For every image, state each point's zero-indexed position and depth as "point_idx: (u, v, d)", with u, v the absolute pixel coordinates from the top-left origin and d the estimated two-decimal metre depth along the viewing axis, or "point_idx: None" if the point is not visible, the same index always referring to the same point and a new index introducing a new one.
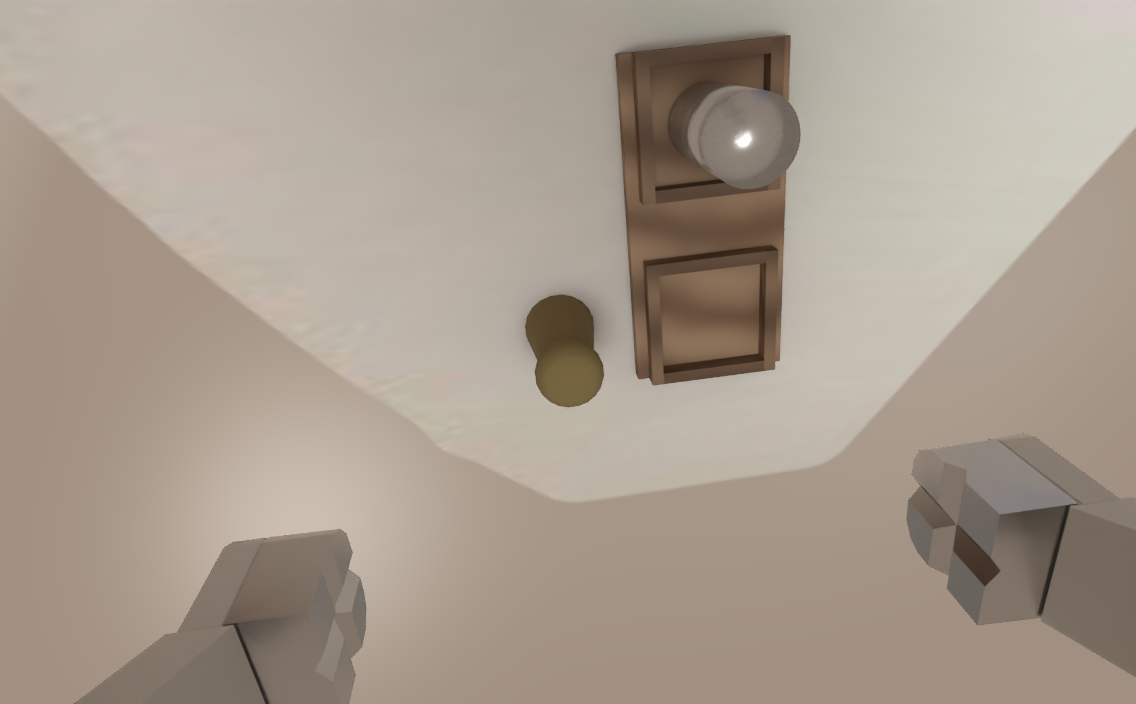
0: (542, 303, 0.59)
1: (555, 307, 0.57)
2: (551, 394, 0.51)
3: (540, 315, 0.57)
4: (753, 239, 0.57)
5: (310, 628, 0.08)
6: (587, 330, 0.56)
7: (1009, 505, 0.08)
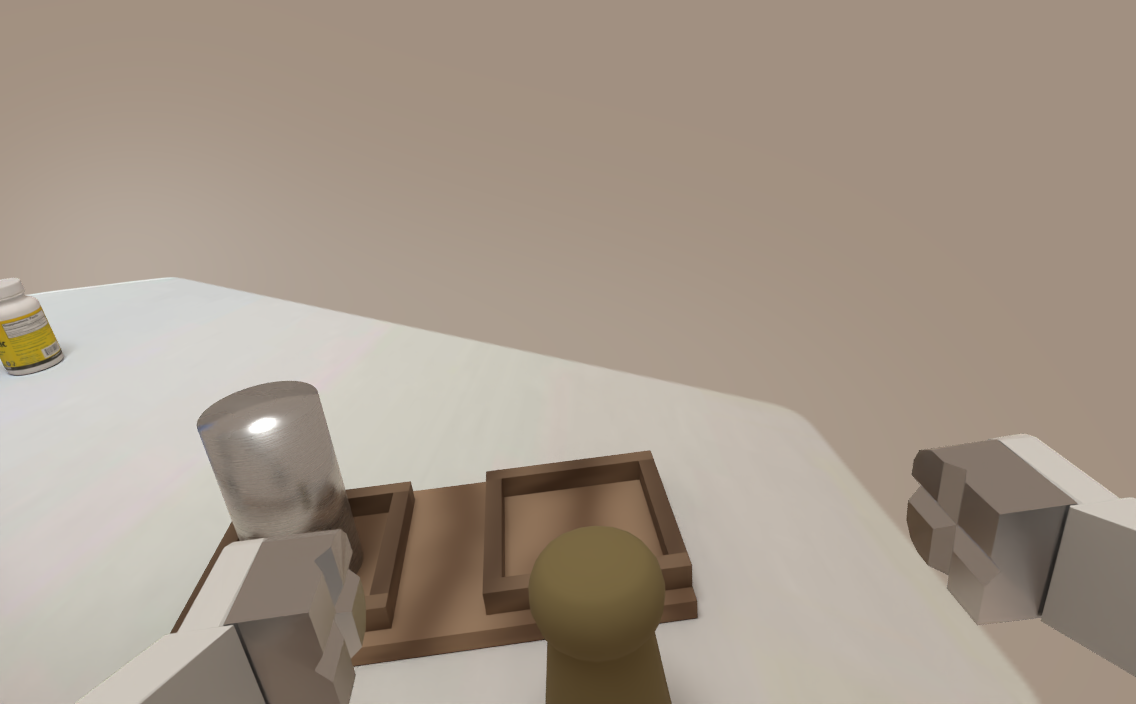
0: None
1: None
2: (621, 586, 0.24)
3: None
4: (478, 506, 0.45)
5: (310, 628, 0.08)
6: None
7: (1009, 505, 0.08)
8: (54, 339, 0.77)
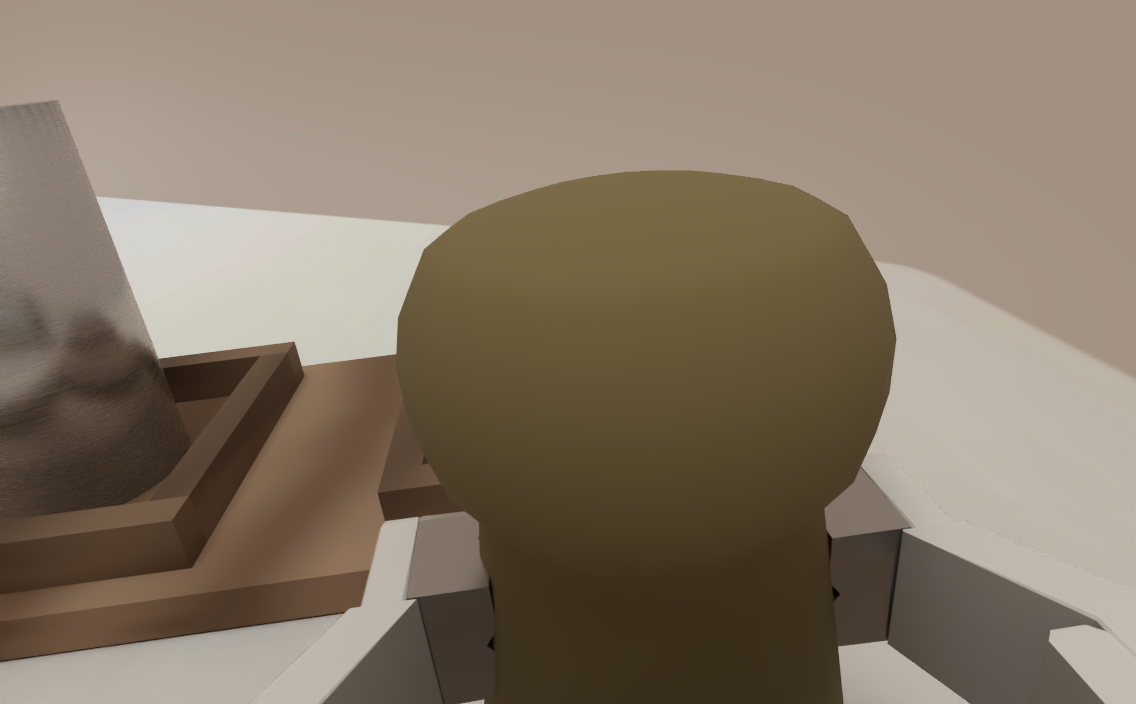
0: None
1: None
2: (757, 239, 0.06)
3: None
4: None
5: (487, 603, 0.08)
6: None
7: (844, 528, 0.08)
8: None
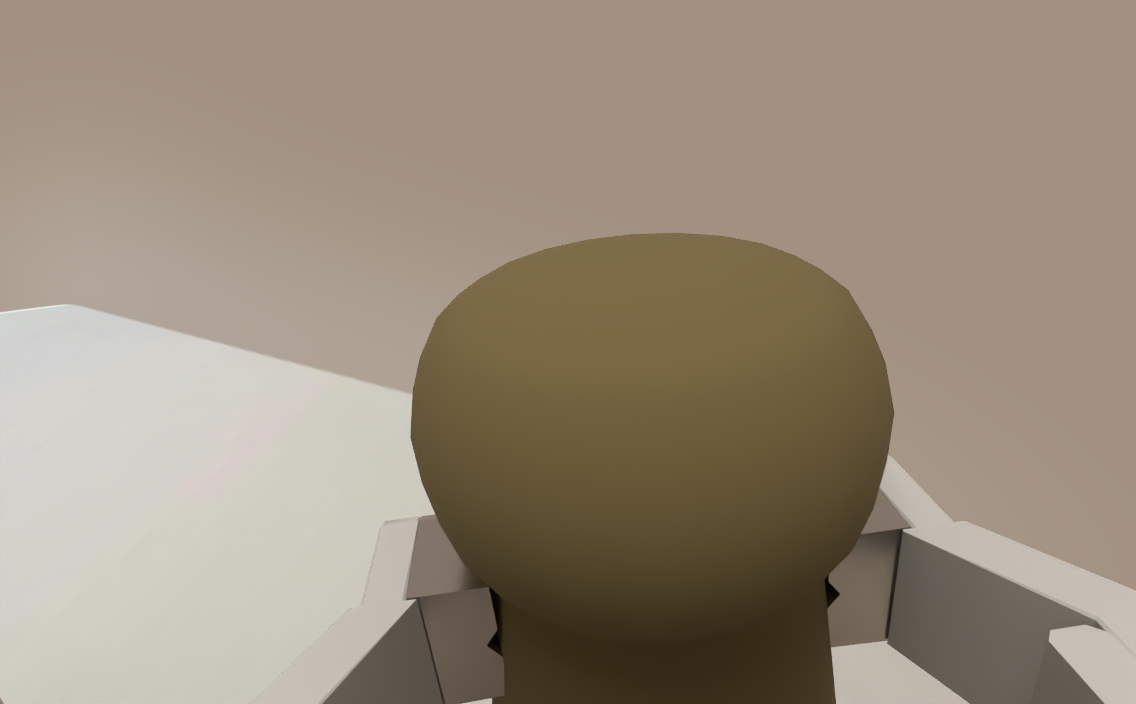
0: None
1: None
2: (762, 331, 0.06)
3: None
4: None
5: (487, 602, 0.08)
6: None
7: None
8: None
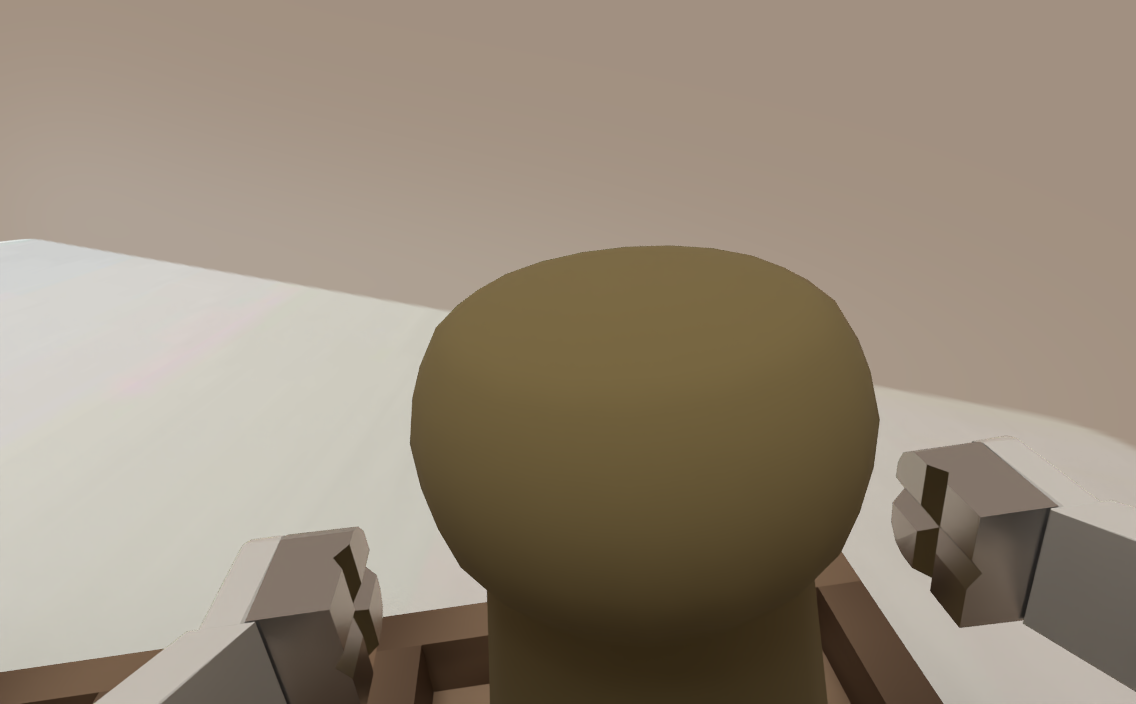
0: None
1: None
2: (749, 339, 0.06)
3: None
4: None
5: (331, 625, 0.08)
6: None
7: (990, 508, 0.08)
8: None
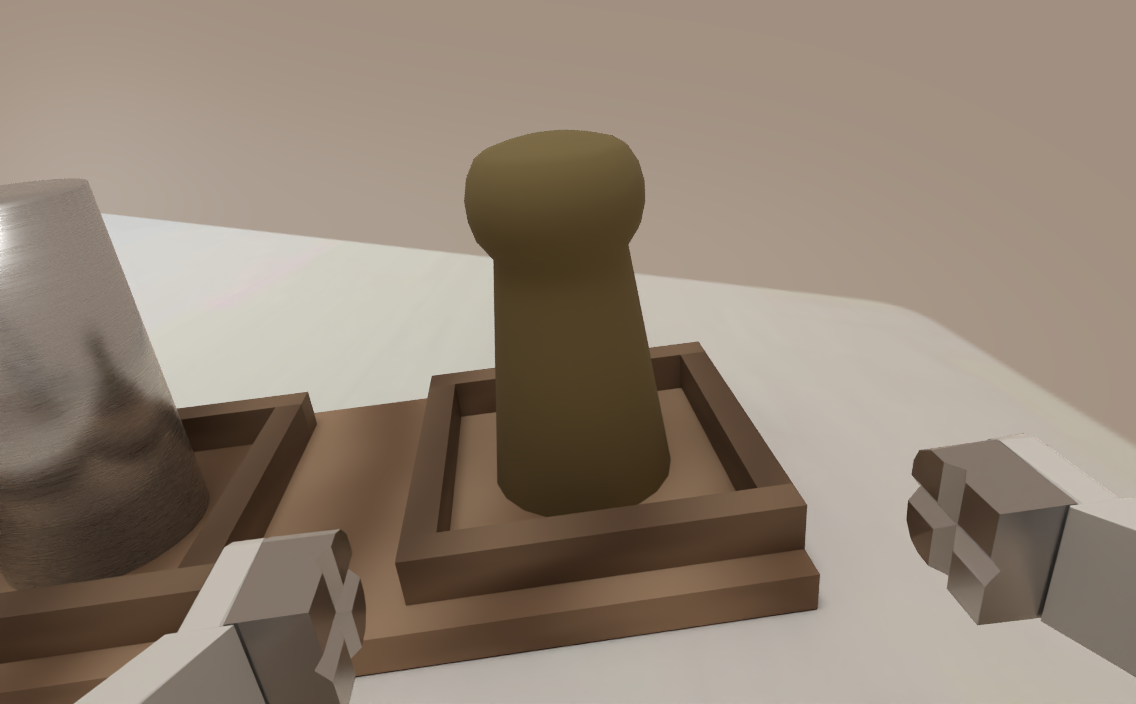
0: (505, 480, 0.22)
1: (496, 424, 0.23)
2: (584, 147, 0.18)
3: (511, 438, 0.21)
4: (418, 429, 0.27)
5: (310, 628, 0.08)
6: None
7: (1009, 505, 0.08)
8: None
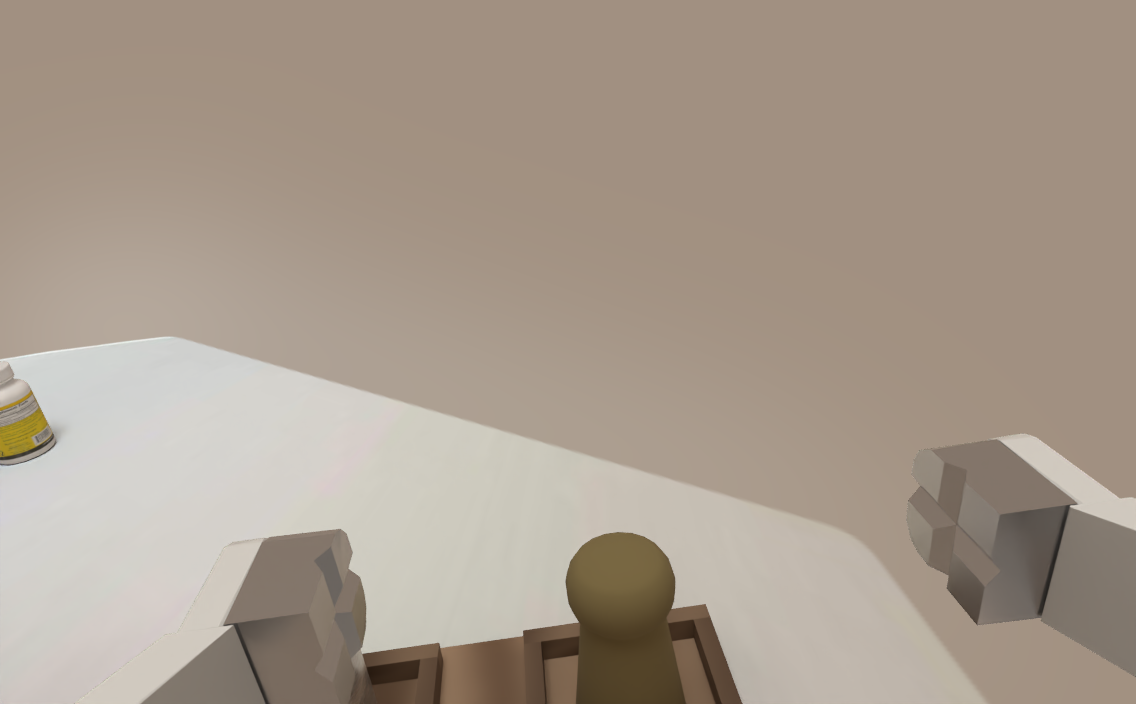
0: None
1: (578, 700, 0.35)
2: (641, 579, 0.31)
3: None
4: (515, 672, 0.40)
5: (310, 628, 0.08)
6: None
7: (1009, 505, 0.08)
8: (45, 424, 0.72)
